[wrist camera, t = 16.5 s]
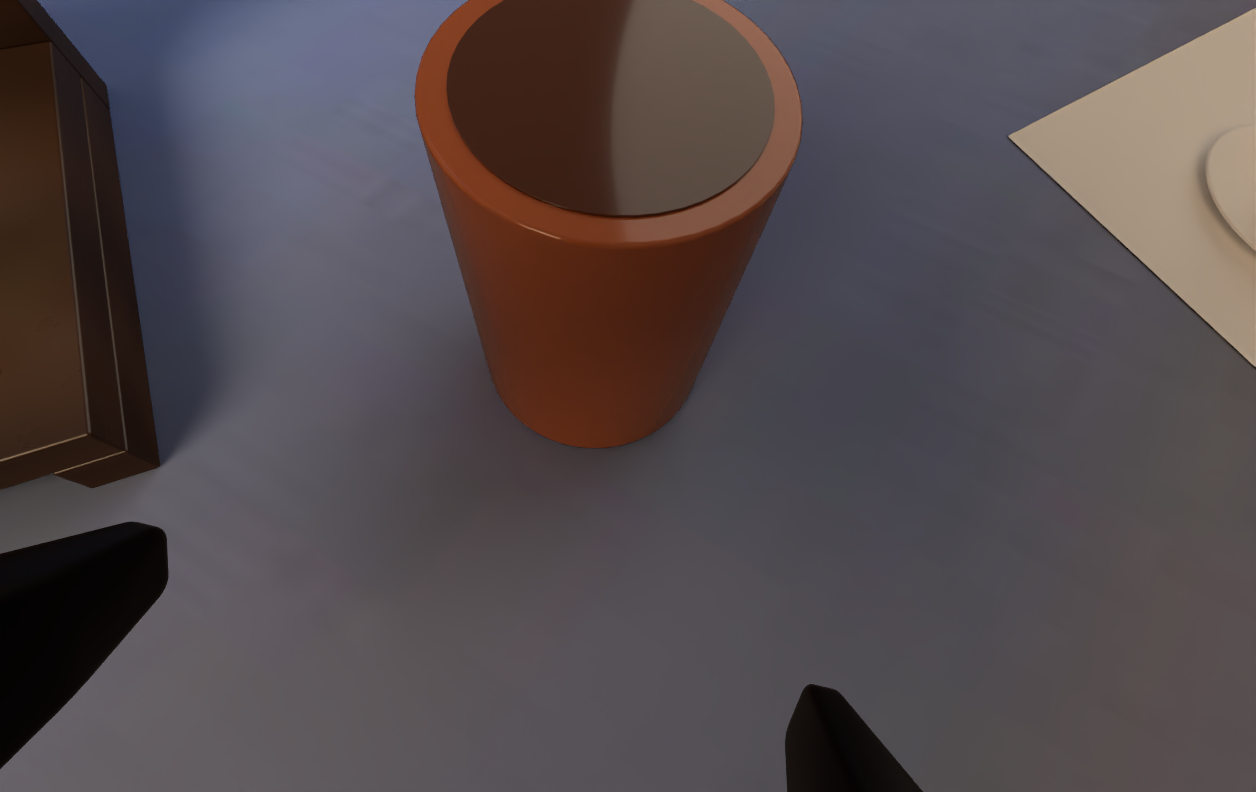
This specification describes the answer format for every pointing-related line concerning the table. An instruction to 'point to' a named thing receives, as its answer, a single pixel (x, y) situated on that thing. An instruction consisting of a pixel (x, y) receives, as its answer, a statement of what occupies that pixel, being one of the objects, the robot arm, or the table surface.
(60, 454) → the dark brown wooden piece
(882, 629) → the table surface
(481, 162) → the cup
